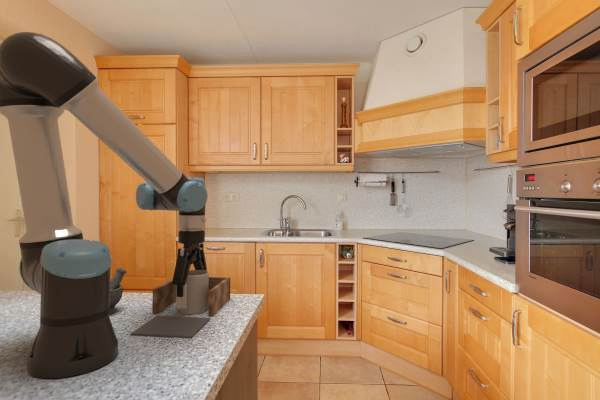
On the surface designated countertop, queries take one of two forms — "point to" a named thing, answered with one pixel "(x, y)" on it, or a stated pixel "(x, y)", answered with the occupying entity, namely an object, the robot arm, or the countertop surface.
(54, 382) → the countertop surface
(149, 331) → the mat
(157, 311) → the open-sided wooden frame
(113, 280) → the mortar and pestle
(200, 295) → the mug
